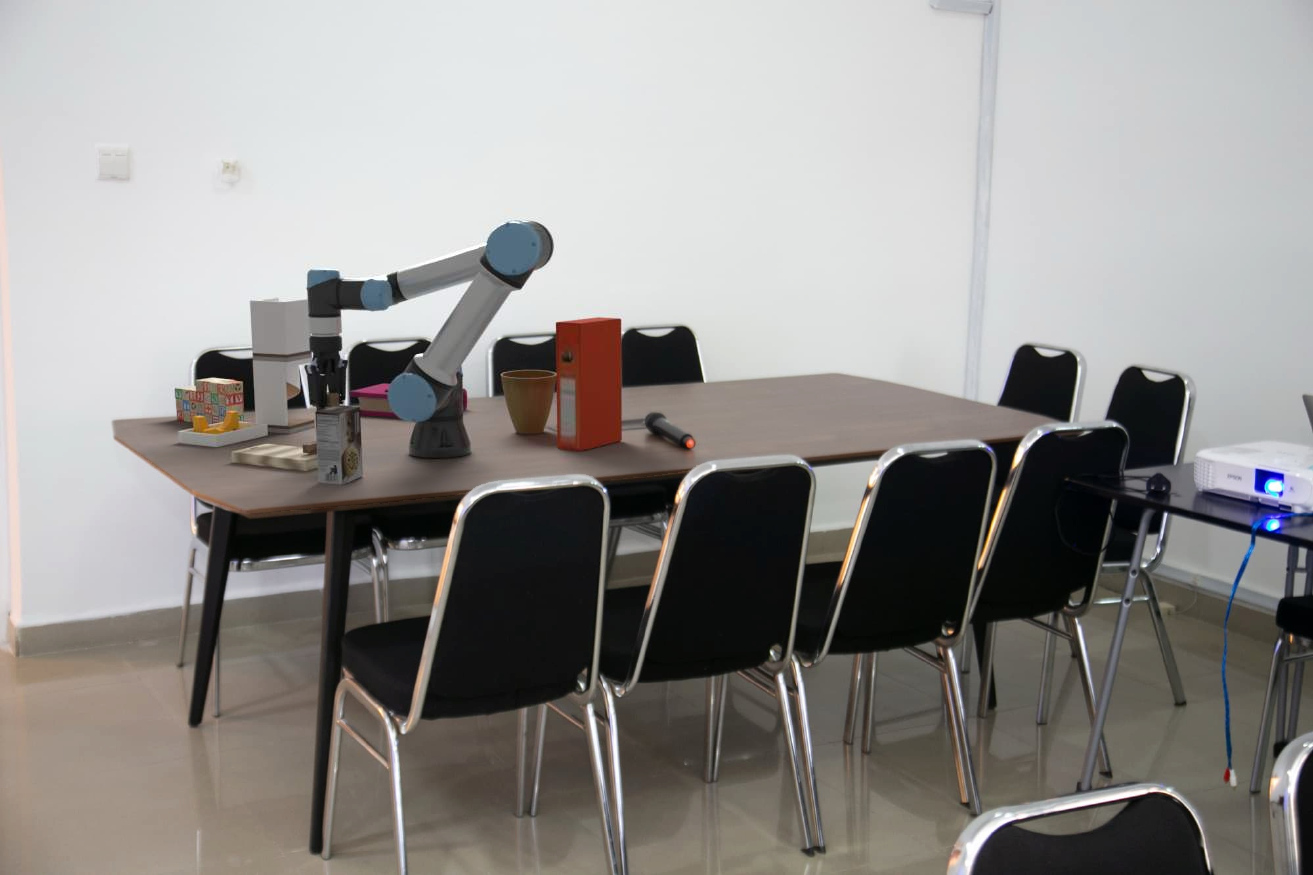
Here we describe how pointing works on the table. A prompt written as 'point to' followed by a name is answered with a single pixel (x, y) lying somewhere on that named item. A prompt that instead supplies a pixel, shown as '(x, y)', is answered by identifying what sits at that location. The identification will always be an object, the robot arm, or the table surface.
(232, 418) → the pipe clamp
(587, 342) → the file binder
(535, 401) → the plant pot
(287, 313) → the white column with cutout
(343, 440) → the printed food box
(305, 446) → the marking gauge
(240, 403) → the stack of blocks
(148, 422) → the table surface
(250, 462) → the pine board
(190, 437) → the clamp rest frame
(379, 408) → the book
